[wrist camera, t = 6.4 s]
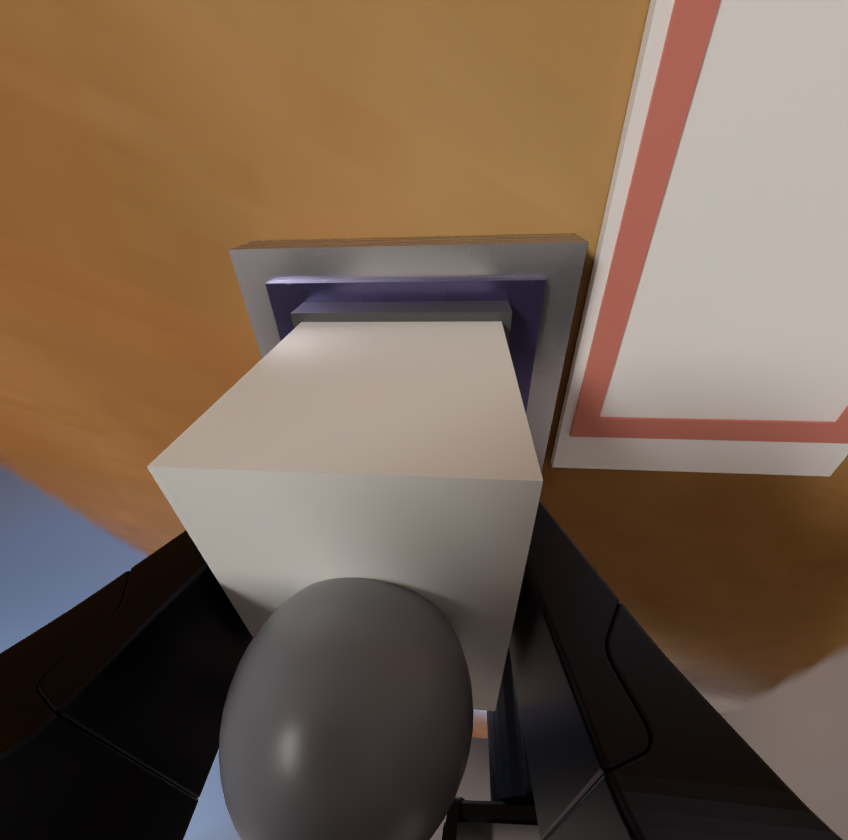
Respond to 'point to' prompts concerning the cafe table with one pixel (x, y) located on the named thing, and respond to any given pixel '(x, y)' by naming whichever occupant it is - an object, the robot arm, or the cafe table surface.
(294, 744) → the stamp
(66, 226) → the cafe table surface
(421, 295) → the ink pad
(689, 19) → the sheet
